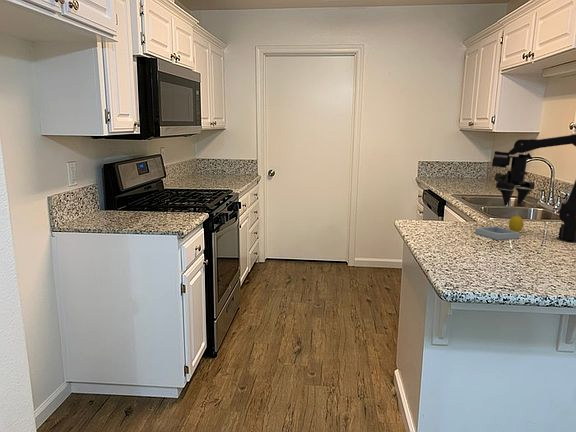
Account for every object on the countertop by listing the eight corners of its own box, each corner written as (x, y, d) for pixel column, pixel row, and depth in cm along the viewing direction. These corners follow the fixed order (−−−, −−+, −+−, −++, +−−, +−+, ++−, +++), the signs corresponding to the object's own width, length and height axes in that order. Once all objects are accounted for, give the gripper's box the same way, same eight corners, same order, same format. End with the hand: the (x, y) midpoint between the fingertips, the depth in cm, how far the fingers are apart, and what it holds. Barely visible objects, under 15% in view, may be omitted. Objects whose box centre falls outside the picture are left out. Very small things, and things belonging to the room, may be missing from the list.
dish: (519, 238, 184) (519, 232, 184) (497, 240, 180) (498, 234, 179) (495, 232, 195) (496, 226, 195) (474, 233, 190) (475, 228, 190)
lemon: (523, 235, 191) (526, 216, 190) (509, 234, 192) (512, 216, 191) (519, 232, 197) (522, 214, 195) (506, 231, 198) (508, 213, 196)
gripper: (514, 166, 201) (508, 201, 204) (487, 166, 192) (482, 202, 195) (538, 169, 192) (531, 205, 195) (511, 169, 183) (505, 207, 186)
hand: (512, 205), depth 193 cm, fingers open, 9 cm apart
